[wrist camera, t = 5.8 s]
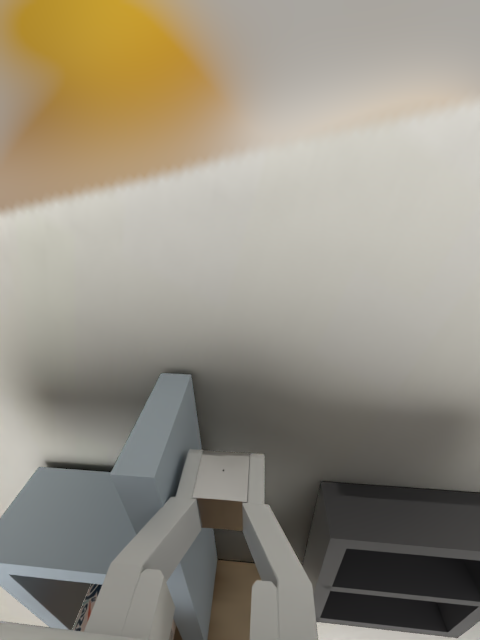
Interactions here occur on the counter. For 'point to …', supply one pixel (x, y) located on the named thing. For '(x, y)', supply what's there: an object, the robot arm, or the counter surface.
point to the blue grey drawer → (109, 519)
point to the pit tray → (395, 558)
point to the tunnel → (231, 601)
